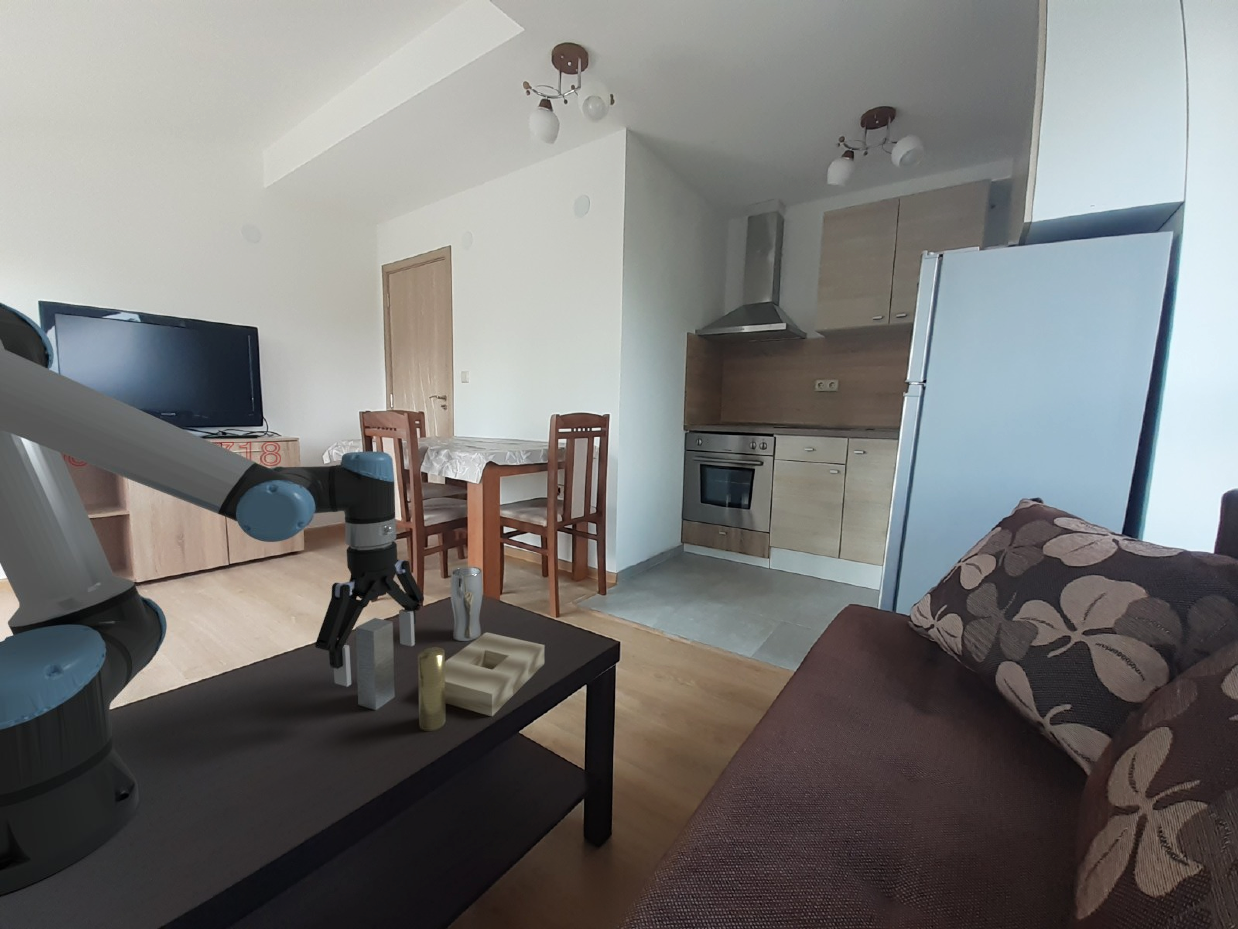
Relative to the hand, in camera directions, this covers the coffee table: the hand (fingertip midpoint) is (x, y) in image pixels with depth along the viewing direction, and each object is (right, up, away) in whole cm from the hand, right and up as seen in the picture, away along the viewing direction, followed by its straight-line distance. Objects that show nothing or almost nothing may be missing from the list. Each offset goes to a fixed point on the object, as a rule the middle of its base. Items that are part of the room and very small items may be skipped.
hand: (377, 662), depth 82 cm
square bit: (-1, -7, +1) cm, 7 cm away
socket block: (+17, -7, +8) cm, 20 cm away
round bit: (+11, -8, -5) cm, 15 cm away
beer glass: (+7, -5, +25) cm, 27 cm away
